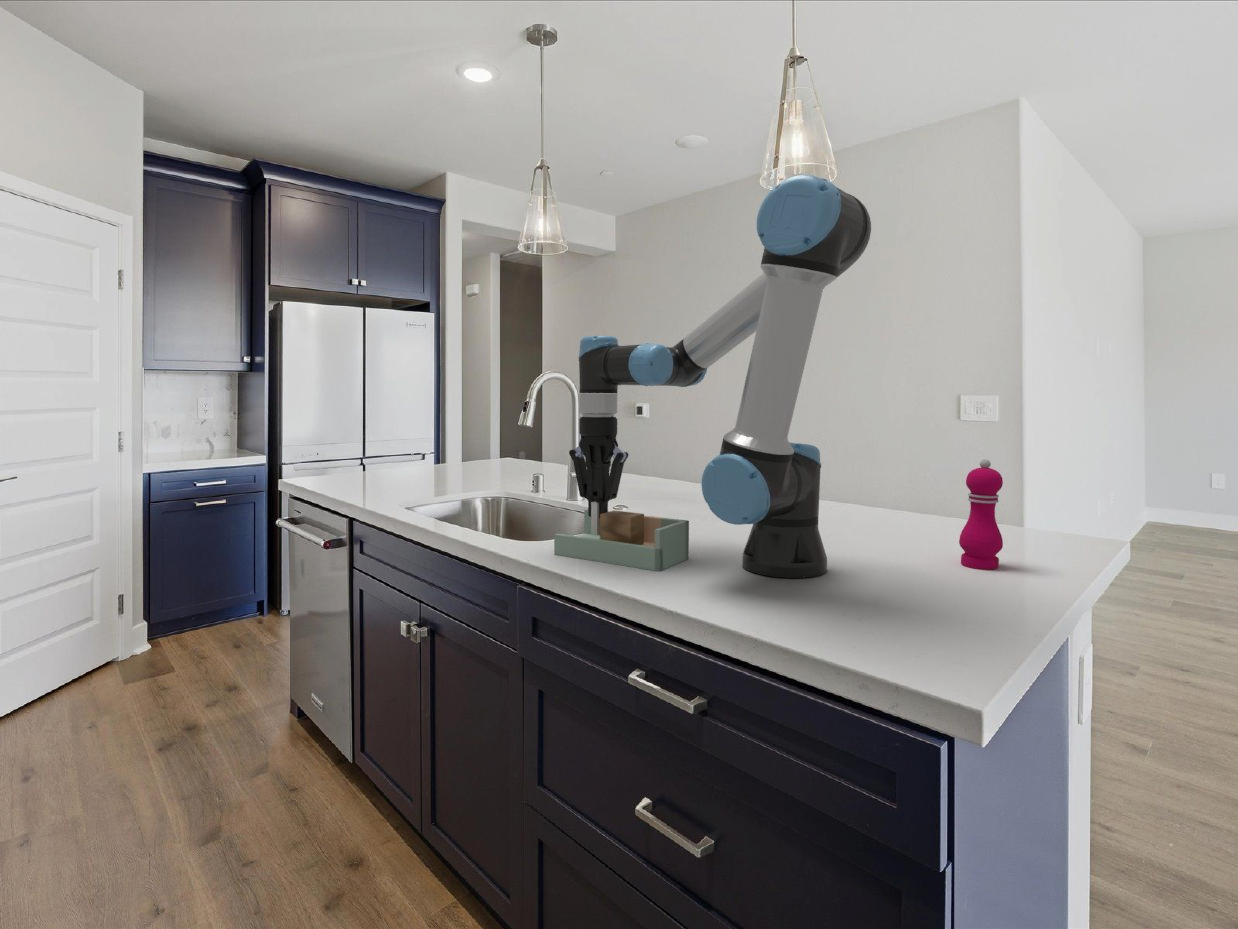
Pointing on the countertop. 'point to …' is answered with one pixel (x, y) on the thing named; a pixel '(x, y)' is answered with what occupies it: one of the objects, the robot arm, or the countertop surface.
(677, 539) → the green open tray
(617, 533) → the block
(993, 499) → the pepper mill
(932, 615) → the countertop surface
